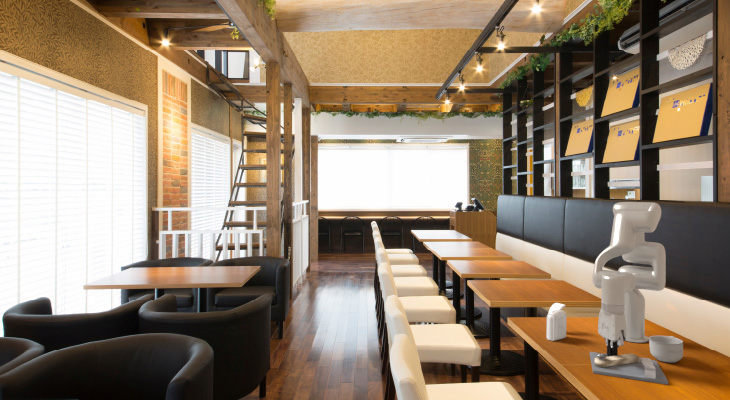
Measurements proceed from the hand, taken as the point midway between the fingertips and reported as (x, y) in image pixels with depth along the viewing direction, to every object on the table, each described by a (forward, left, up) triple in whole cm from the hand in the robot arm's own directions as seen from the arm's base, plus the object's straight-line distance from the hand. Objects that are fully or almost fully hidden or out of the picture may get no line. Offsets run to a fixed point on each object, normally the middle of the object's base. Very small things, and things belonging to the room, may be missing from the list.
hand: (612, 356), depth 163 cm
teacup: (-13, +20, -2) cm, 24 cm away
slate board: (+4, +4, -2) cm, 6 cm away
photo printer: (-21, -19, -2) cm, 29 cm away
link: (+3, +1, -1) cm, 4 cm away
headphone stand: (-33, -19, -2) cm, 38 cm away
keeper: (+8, +10, -2) cm, 13 cm away
